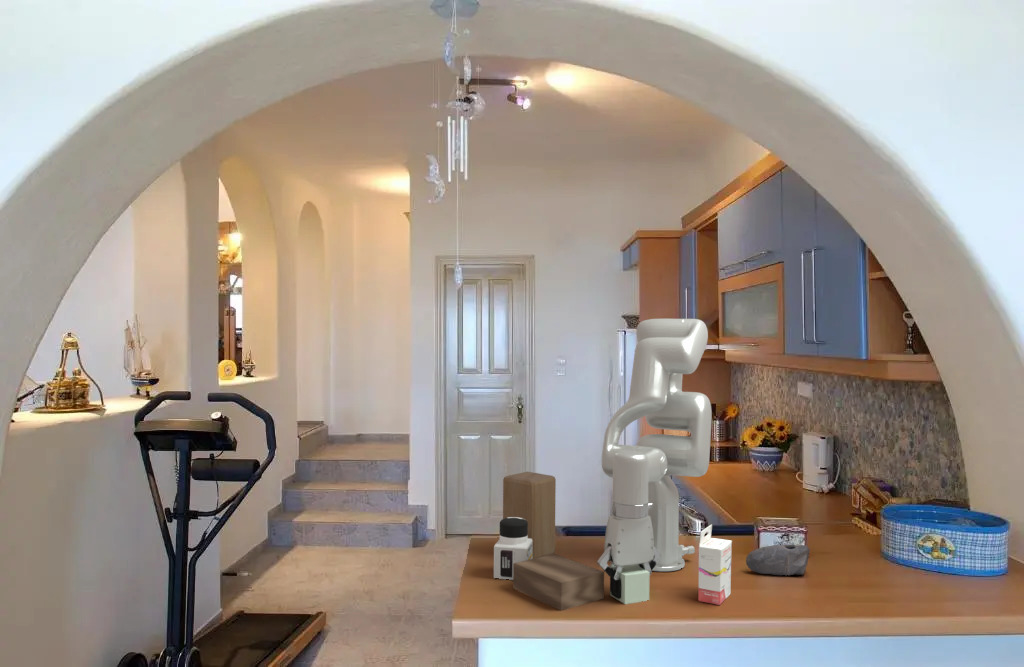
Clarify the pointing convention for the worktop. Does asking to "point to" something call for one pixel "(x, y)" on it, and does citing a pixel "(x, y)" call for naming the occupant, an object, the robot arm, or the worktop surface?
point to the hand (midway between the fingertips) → (629, 593)
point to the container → (511, 546)
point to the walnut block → (558, 581)
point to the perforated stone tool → (779, 559)
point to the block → (533, 507)
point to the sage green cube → (634, 584)
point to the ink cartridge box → (714, 568)
